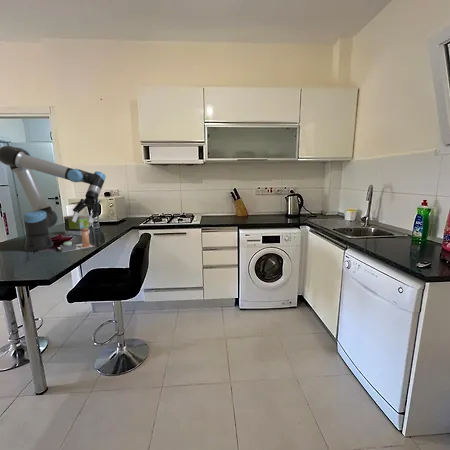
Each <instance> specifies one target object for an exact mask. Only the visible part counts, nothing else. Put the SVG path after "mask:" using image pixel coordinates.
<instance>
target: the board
mask: <svg viewBox="0 0 450 450" xmlns="http://www.w3.org/2000/svg"><path fill="white" fill-rule="evenodd" d="M75 245H76V251H77V250H83V249H84V250H85V249H90V248H94V247H96V246H95V245H93V244H91V243H90V246H88V247H83V245H82V243H79V244H75ZM57 249H58V250H59V251H61V253H64V252H66V251H64V252H63V251H62V250H61V249H60V246H59V247H58V246H57ZM71 251H72V250H70V252H71Z"/></svg>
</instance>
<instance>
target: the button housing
mask: <svg viewBox="0 0 450 450" xmlns="http://www.w3.org/2000/svg"><path fill="white" fill-rule="evenodd" d="M76 245H77V244H75V243H74V242H73V243H72V246H66V247H64V244H60V245H59V247H60V249H61V250H62V251H63V252H62V251H61V250H60V249H59V250H60V251H61V252H62V253H64V251H65V252H69V251H70V250H71V251H75V250H76ZM71 251H70V252H71ZM76 251H77V250H76Z"/></svg>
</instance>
